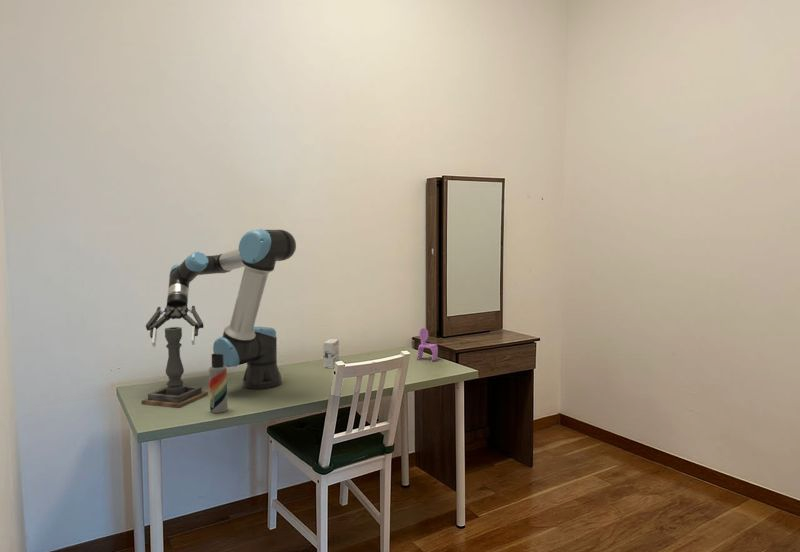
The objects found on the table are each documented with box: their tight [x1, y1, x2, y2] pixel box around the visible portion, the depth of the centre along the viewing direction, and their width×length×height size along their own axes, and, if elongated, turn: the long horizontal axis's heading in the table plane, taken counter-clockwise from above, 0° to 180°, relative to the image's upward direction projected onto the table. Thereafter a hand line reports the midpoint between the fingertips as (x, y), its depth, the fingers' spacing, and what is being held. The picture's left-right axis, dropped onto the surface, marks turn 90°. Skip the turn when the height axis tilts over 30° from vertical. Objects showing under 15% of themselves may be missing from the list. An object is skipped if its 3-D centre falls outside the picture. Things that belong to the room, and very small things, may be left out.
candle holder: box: [164, 326, 185, 396], centre depth 203 cm, size 6×6×25 cm
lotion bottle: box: [208, 353, 229, 414], centre depth 190 cm, size 6×6×20 cm
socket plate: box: [141, 385, 209, 409], centre depth 203 cm, size 16×16×3 cm
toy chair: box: [415, 327, 439, 362], centre depth 265 cm, size 8×9×15 cm
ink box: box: [322, 338, 340, 369], centre depth 253 cm, size 9×5×12 cm, turn 168°
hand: (173, 343), depth 205 cm, fingers open, 13 cm apart
